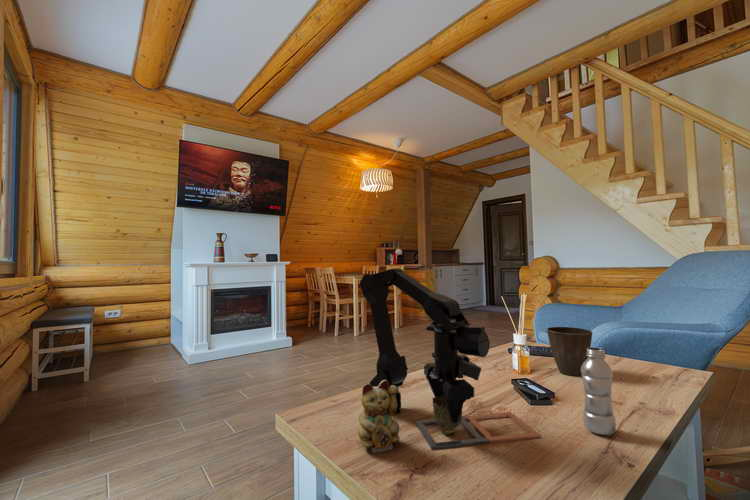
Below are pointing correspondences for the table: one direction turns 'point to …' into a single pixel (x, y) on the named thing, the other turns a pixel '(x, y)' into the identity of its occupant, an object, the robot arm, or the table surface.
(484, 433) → the rectangular frame
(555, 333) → the plant pot
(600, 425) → the plastic bottle
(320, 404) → the table surface
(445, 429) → the dark ridged bell shape
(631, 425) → the table surface
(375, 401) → the decorative figurine
